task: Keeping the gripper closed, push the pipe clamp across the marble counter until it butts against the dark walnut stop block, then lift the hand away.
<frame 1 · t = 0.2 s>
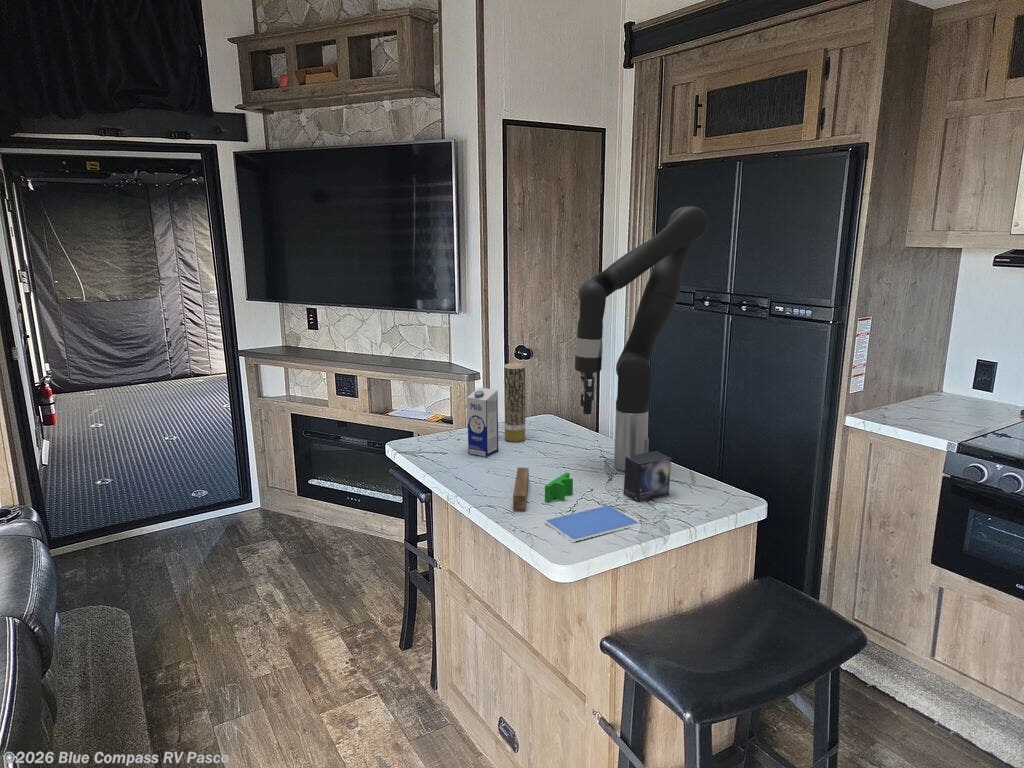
hand: (585, 410, 192), 17 cm above the table, tool pointing down, fingers open, 8 cm apart
tablet computer: (591, 527, 159), on the table
stop block: (521, 495, 176), on the table
pipe clamp: (561, 497, 176), on the table
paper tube: (515, 440, 223), on the table
milk carton: (483, 453, 210), on the table
small box: (646, 495, 176), on the table
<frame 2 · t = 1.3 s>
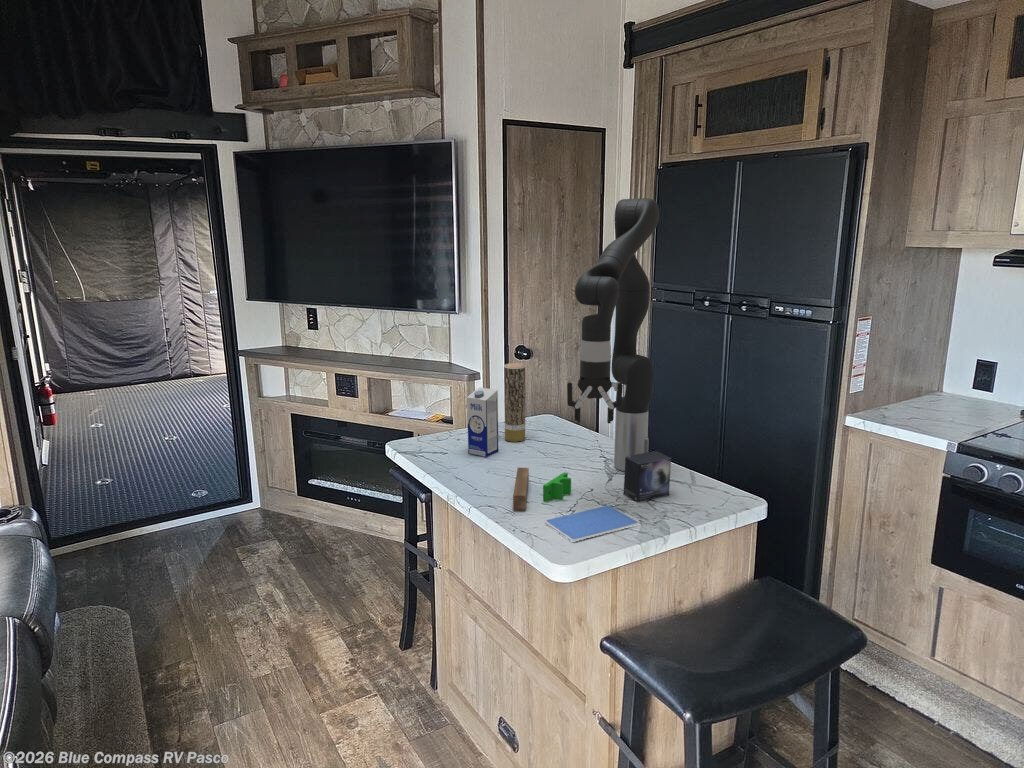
hand: (593, 422, 171), 20 cm above the table, tool pointing down, fingers open, 7 cm apart
nothing on the table moved.
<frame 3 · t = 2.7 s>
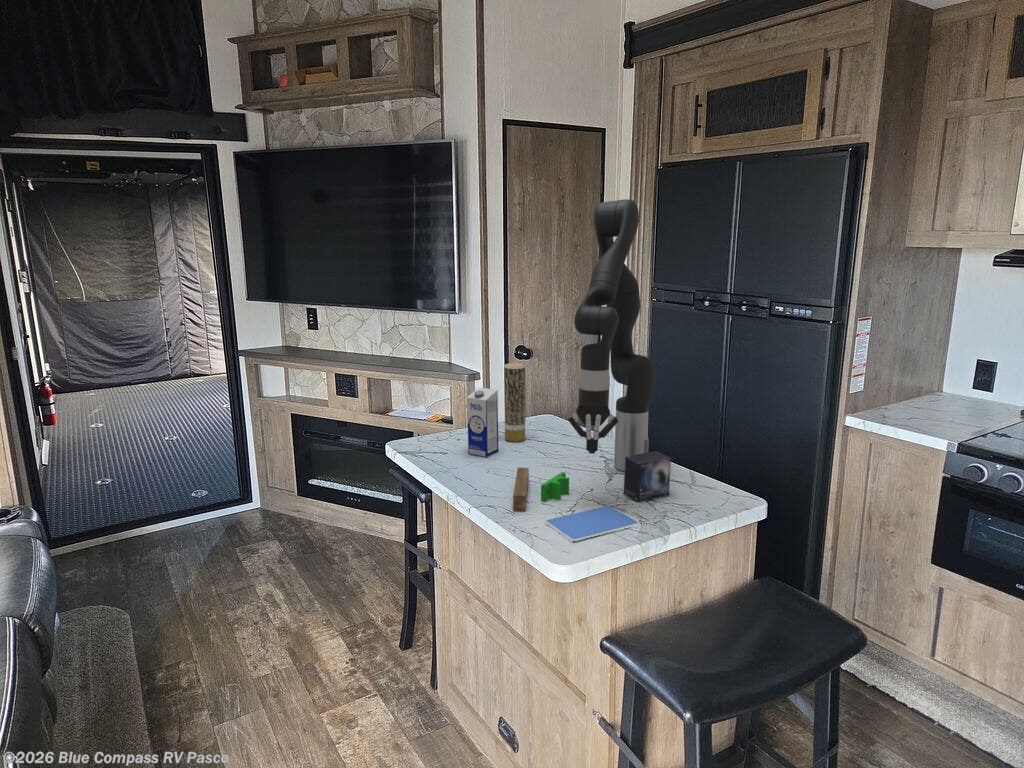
hand: (591, 452, 172), 12 cm above the table, tool pointing down, fingers closed
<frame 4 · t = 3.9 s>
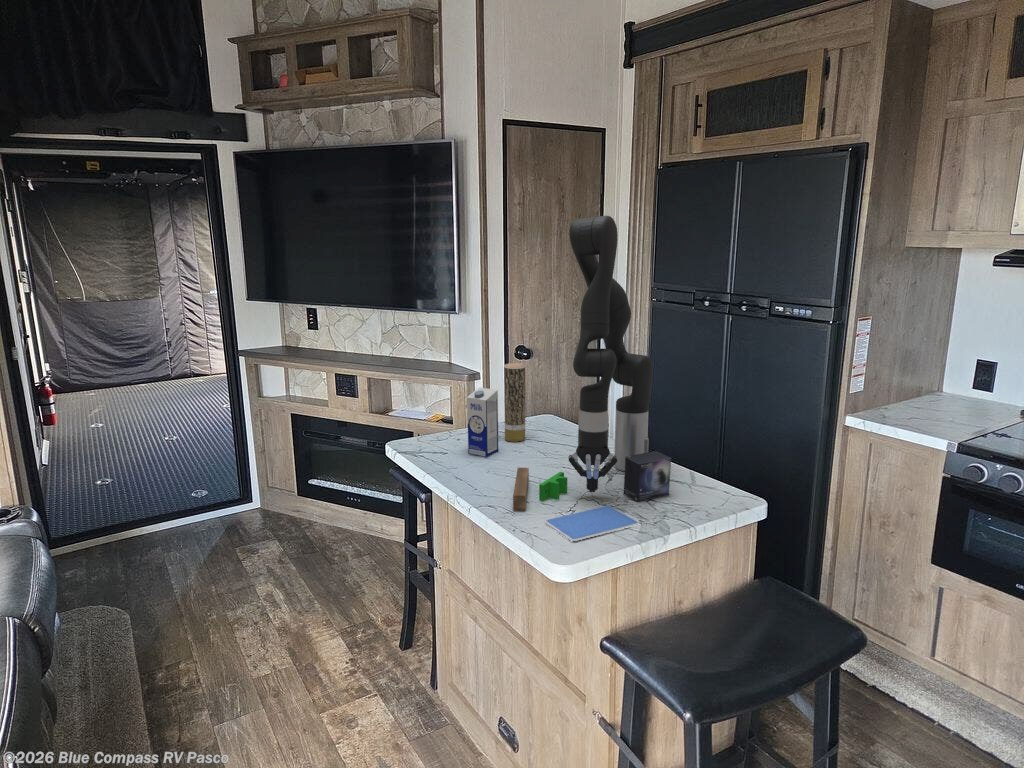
hand: (591, 491, 175), 2 cm above the table, tool pointing down, fingers closed
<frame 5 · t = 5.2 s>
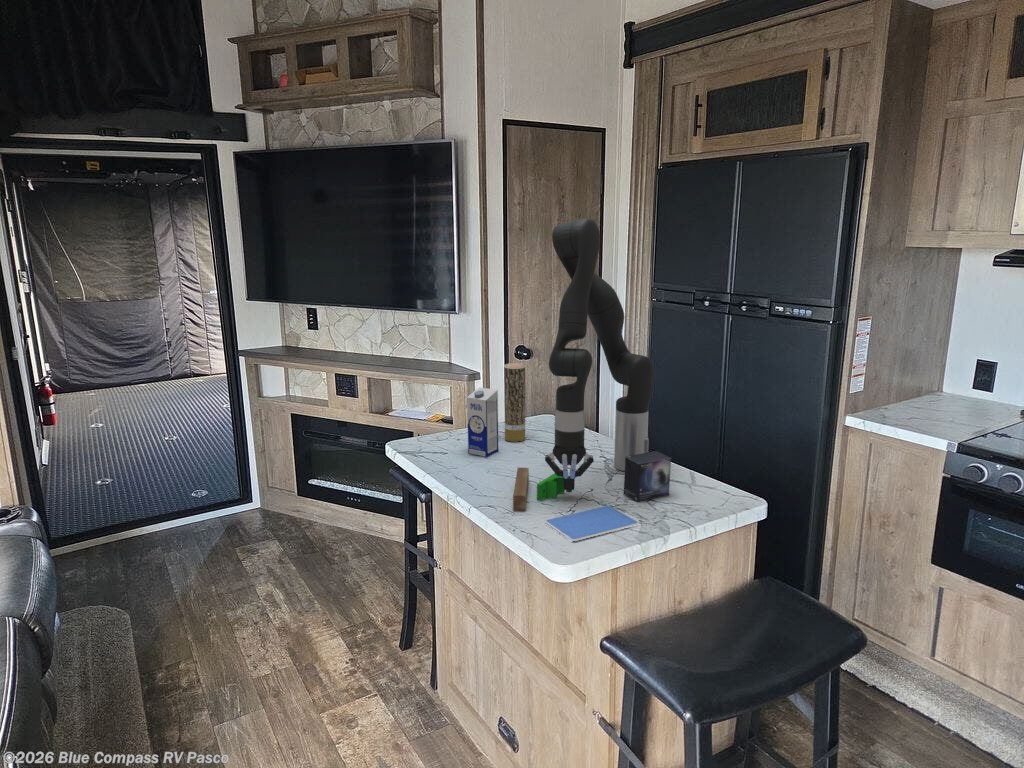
hand: (568, 490, 175), 2 cm above the table, tool pointing down, fingers closed
pipe clamp: (553, 495, 177), on the table, touching gripper
everything else where it was.
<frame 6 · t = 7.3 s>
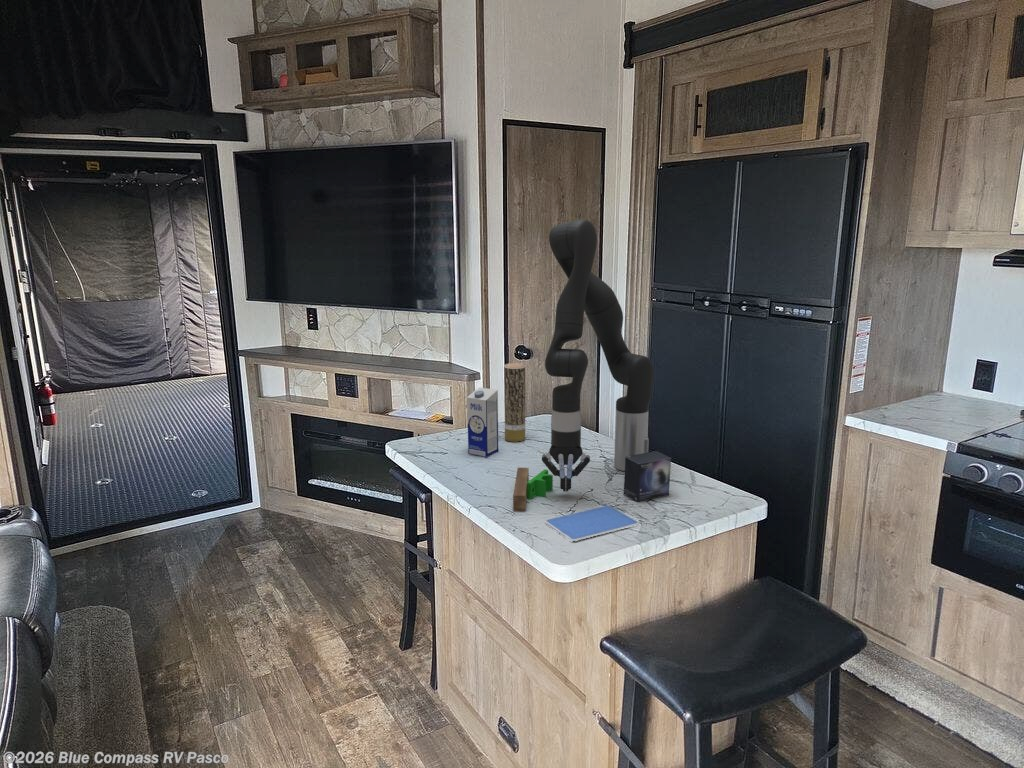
hand: (565, 490, 176), 1 cm above the table, tool pointing down, fingers closed
pipe clamp: (541, 493, 178), on the table
everything else where it was.
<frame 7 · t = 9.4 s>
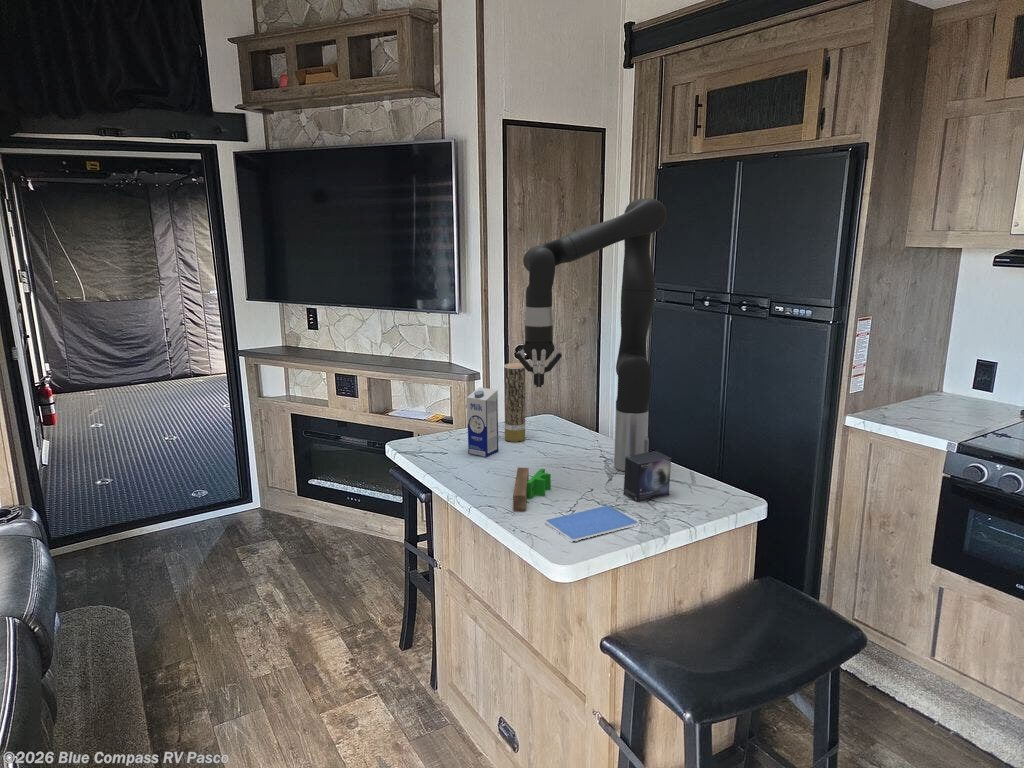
hand: (538, 386, 184), 26 cm above the table, tool pointing down, fingers closed
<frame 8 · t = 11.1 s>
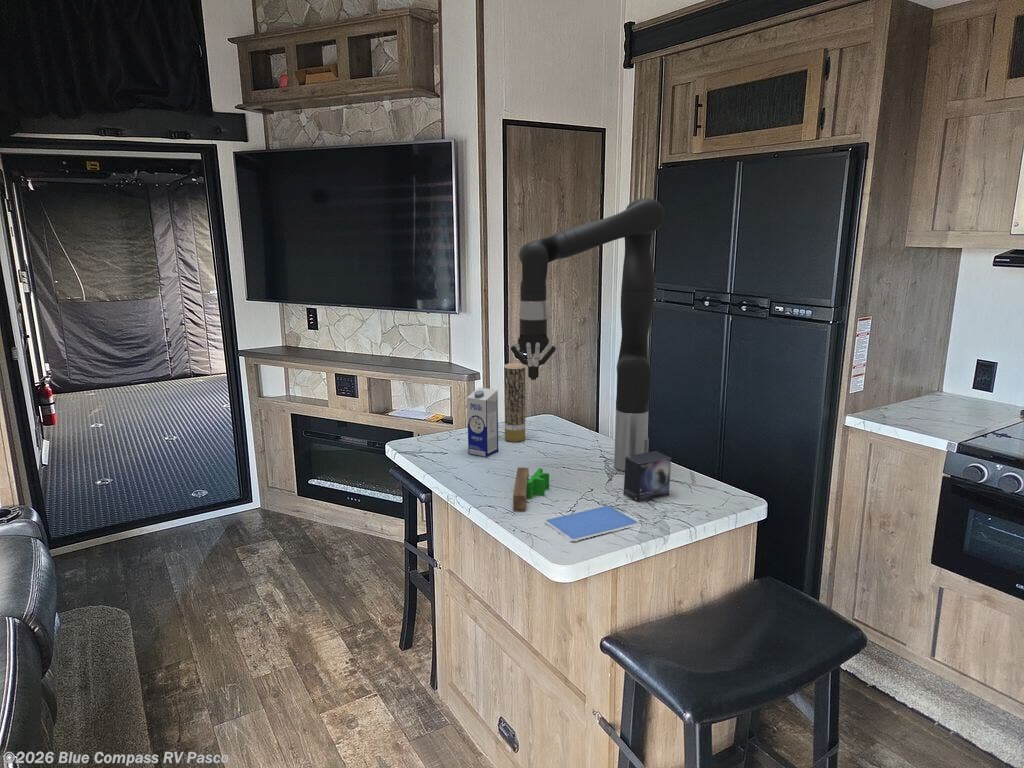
hand: (533, 379, 188), 27 cm above the table, tool pointing down, fingers closed
nothing on the table moved.
at the end: pipe clamp inside the target area on the table beside the stop block (3.0 cm from its centre), on the table; pipe clamp moved 6.7 cm from its start; the gripper is holding nothing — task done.
